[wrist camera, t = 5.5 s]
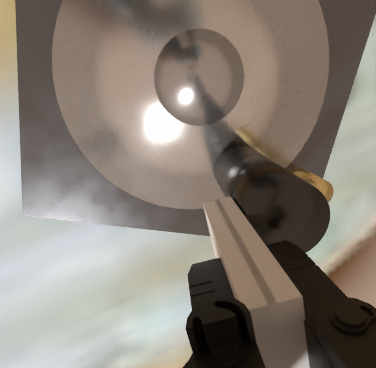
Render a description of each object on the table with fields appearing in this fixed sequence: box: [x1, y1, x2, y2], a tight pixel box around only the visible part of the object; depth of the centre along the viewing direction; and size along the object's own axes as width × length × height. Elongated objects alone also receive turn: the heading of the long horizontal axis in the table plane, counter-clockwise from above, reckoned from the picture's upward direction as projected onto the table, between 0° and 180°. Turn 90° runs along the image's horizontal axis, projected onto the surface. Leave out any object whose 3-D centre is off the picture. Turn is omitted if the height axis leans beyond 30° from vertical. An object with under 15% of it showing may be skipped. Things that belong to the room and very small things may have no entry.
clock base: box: [15, 0, 376, 236], centre depth 16 cm, size 22×22×7 cm
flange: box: [52, 0, 330, 253], centre depth 13 cm, size 18×16×9 cm
